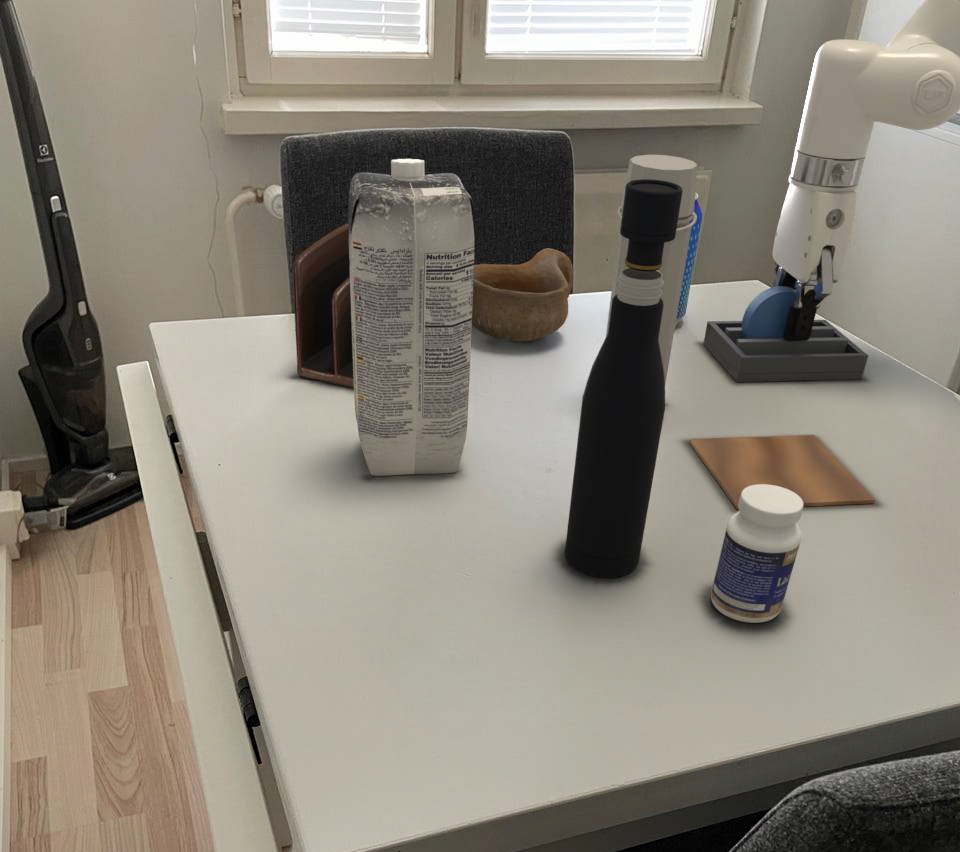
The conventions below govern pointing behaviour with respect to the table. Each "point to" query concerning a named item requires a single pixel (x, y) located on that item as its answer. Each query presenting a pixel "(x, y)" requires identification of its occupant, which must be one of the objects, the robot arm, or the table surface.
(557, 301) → the bowl
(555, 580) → the table surface
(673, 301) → the water bottle
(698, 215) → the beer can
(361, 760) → the table surface
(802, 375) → the dish rack
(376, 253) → the juice carton
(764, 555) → the pill bottle
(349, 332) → the letter holder
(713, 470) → the brown square board
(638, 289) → the wine bottle
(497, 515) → the table surface
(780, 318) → the blue lid
